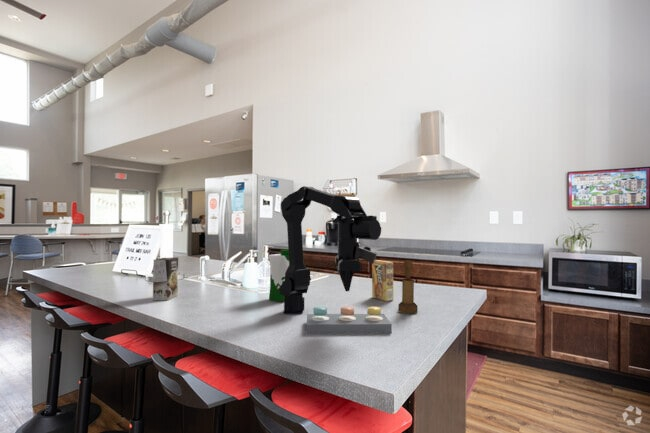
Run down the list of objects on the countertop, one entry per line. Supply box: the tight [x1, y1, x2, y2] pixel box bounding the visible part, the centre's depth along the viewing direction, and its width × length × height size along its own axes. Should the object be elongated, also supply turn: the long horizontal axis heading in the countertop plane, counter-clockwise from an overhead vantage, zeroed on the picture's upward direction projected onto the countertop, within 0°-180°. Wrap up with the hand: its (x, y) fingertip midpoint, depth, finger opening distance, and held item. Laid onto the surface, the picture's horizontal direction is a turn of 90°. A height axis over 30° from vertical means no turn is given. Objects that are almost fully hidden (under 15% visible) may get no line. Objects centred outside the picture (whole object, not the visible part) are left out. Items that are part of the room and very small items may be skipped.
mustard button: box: [366, 306, 382, 316], centre depth 103 cm, size 4×4×2 cm
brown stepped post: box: [397, 259, 418, 315], centre depth 122 cm, size 7×6×18 cm
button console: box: [305, 313, 393, 334], centre depth 103 cm, size 24×11×3 cm, turn 92°
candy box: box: [371, 259, 395, 302], centre depth 141 cm, size 9×4×15 cm, turn 33°
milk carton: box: [268, 249, 289, 303], centre depth 139 cm, size 9×9×20 cm
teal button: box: [313, 306, 328, 316], centre depth 103 cm, size 4×4×2 cm
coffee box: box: [152, 257, 179, 301], centre depth 141 cm, size 9×6×16 cm
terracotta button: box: [340, 306, 355, 316], centre depth 103 cm, size 4×4×2 cm
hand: (347, 291), depth 103 cm, fingers closed
